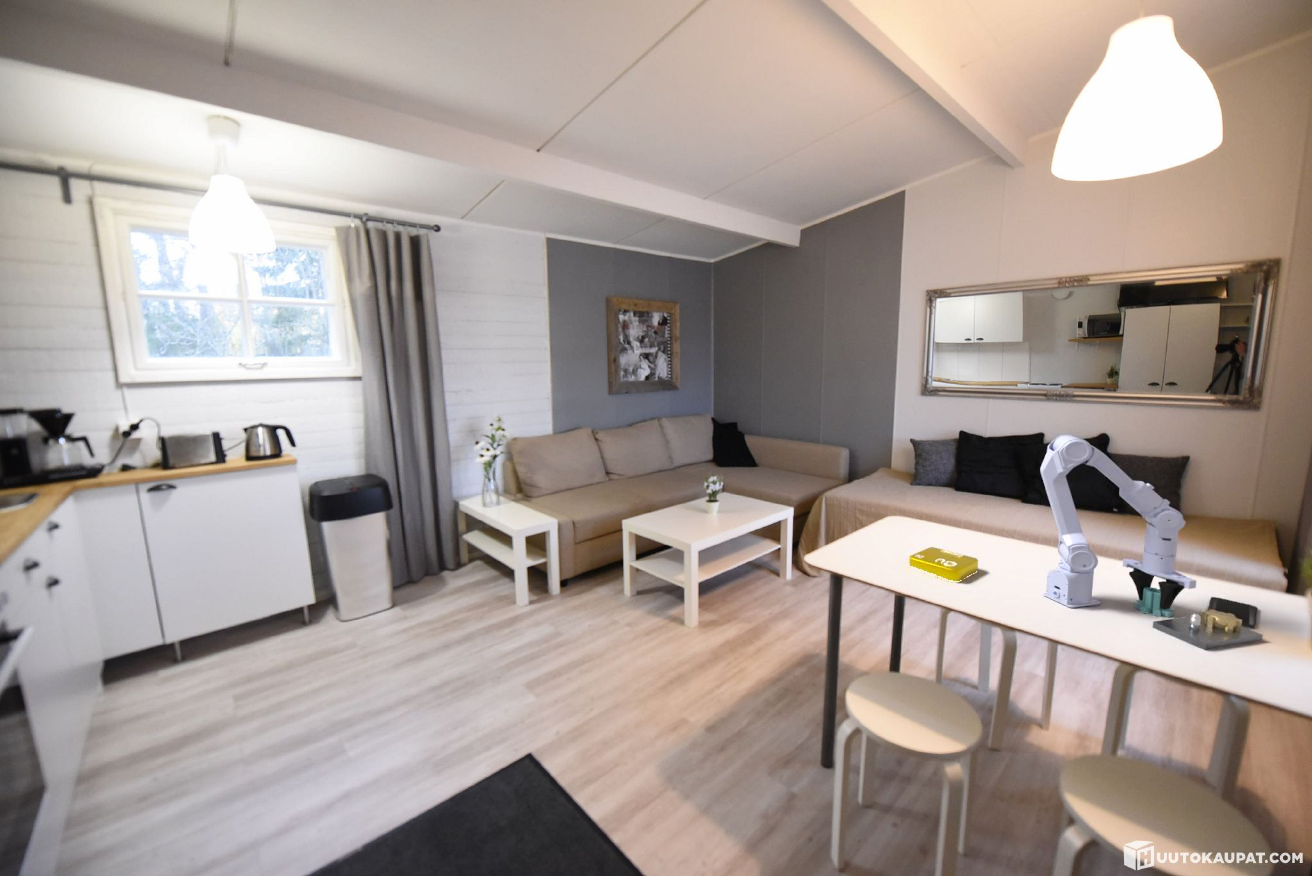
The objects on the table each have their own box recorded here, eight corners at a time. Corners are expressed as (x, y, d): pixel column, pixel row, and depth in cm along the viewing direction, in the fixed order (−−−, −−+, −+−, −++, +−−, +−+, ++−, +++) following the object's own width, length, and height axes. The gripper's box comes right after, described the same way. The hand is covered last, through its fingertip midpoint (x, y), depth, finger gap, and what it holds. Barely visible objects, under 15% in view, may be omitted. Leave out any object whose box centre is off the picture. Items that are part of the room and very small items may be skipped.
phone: (1257, 606, 126) (1255, 626, 116) (1256, 610, 126) (1254, 631, 116) (1210, 596, 132) (1205, 614, 122) (1210, 600, 132) (1204, 618, 123)
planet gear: (1158, 618, 123) (1160, 598, 122) (1127, 605, 130) (1128, 586, 129) (1181, 615, 124) (1183, 595, 123) (1149, 602, 131) (1151, 583, 130)
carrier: (1205, 650, 109) (1207, 627, 108) (1152, 627, 119) (1154, 606, 118) (1262, 641, 112) (1265, 618, 111) (1206, 619, 121) (1208, 598, 121)
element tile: (980, 572, 154) (980, 557, 153) (956, 585, 146) (957, 569, 145) (930, 558, 166) (931, 544, 166) (906, 569, 158) (906, 555, 157)
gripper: (1208, 561, 118) (1202, 615, 120) (1140, 541, 132) (1135, 590, 134) (1185, 564, 117) (1178, 619, 119) (1118, 543, 131) (1113, 593, 133)
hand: (1154, 604), depth 126 cm, fingers closed on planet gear, 4 cm apart
